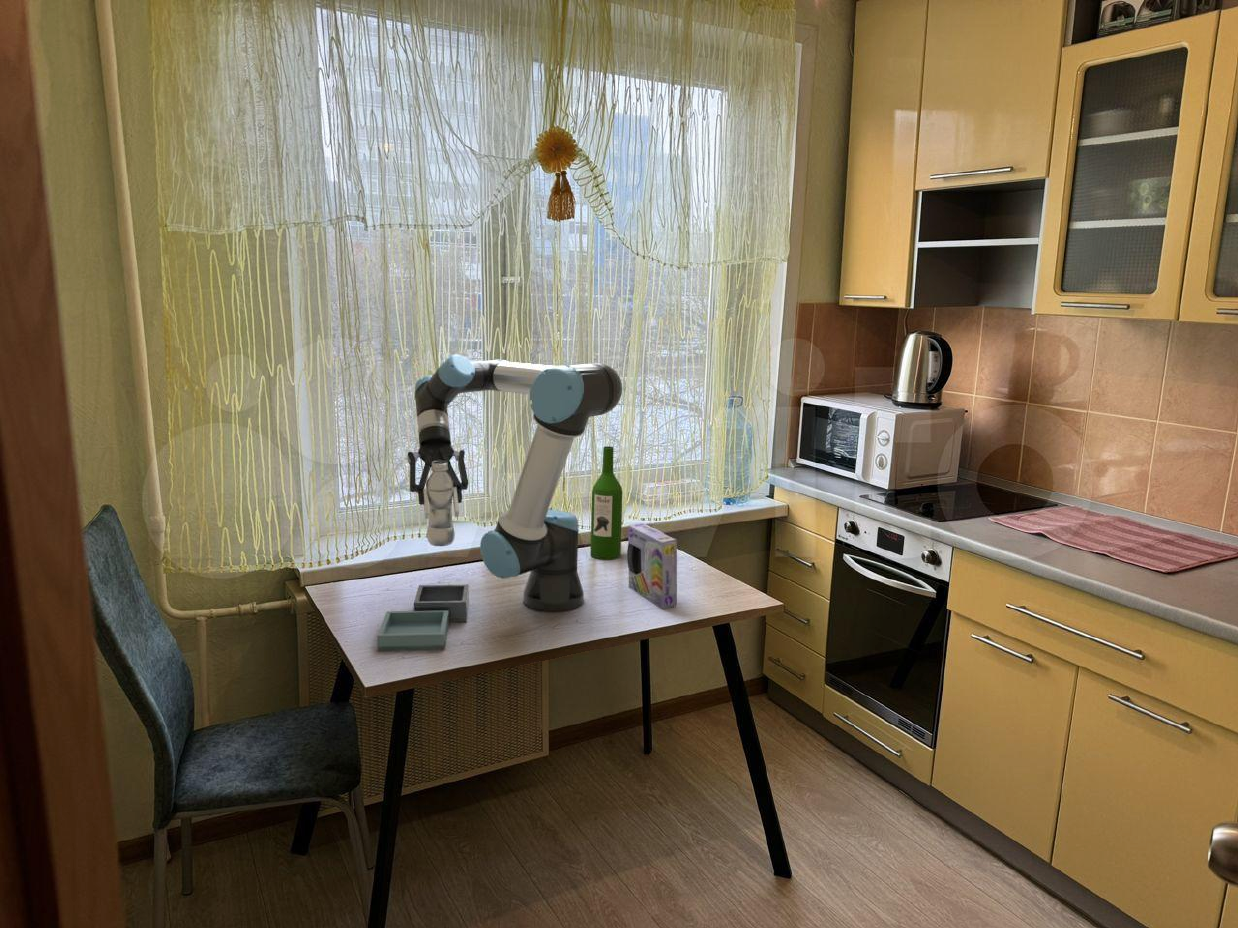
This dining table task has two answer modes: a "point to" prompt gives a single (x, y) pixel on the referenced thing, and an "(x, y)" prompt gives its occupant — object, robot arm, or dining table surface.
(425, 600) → the holder sleeve
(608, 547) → the wine bottle
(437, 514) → the metal bottle
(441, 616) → the tray
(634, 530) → the purple product box
